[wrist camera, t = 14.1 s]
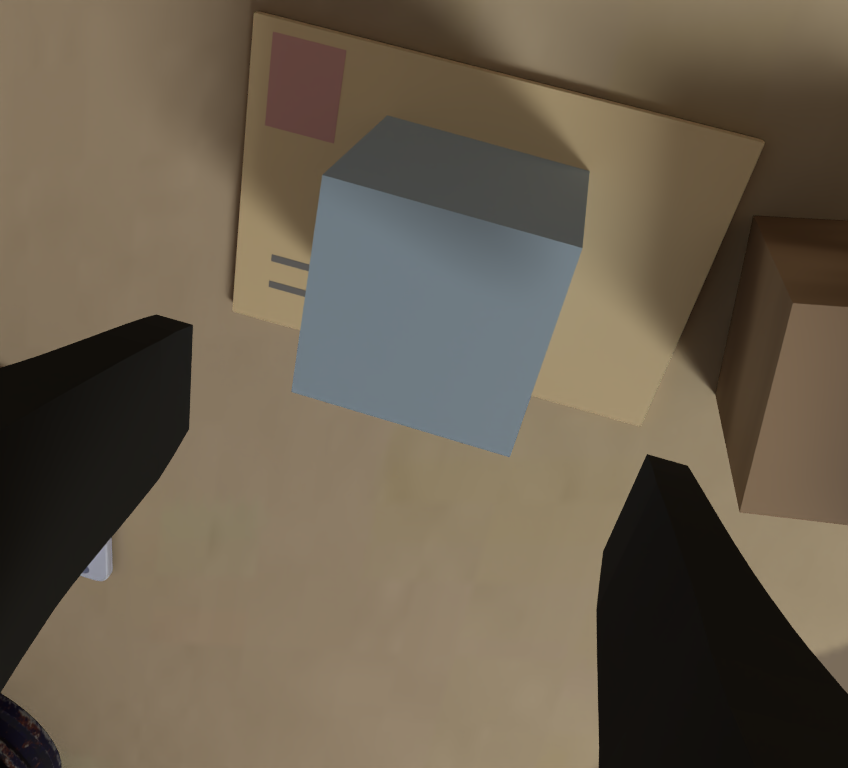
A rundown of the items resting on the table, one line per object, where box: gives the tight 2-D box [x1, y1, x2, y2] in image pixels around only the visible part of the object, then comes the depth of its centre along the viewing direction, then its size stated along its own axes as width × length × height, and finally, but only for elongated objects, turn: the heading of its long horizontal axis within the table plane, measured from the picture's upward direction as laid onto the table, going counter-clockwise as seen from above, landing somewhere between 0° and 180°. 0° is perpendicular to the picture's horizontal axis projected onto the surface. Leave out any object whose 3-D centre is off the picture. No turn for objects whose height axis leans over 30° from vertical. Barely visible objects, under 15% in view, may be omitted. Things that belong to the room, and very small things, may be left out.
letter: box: [232, 11, 765, 427], centre depth 20 cm, size 12×8×1 cm, turn 79°
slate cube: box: [292, 115, 590, 457], centre depth 18 cm, size 5×5×5 cm
